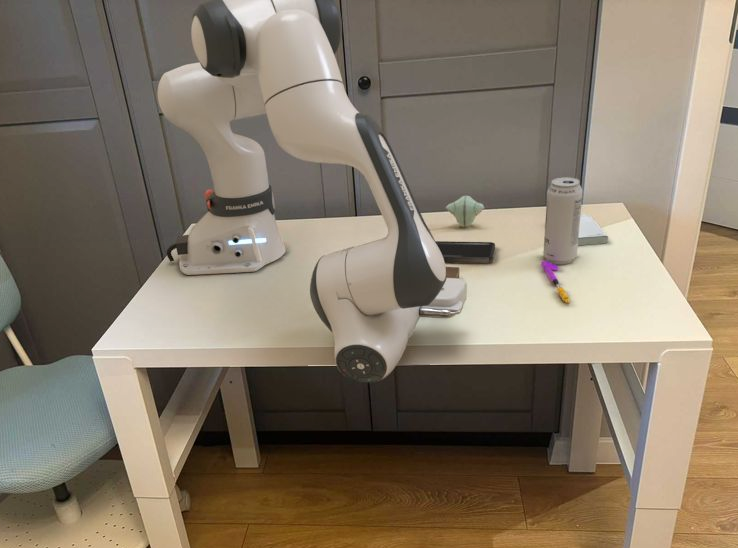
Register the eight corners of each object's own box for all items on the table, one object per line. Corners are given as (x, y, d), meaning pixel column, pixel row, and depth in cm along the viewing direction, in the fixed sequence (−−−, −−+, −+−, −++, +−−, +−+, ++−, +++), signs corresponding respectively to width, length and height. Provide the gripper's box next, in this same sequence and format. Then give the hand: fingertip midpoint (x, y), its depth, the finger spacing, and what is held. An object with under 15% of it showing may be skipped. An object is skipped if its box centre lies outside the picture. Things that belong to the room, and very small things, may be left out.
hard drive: (608, 235, 138) (589, 212, 148) (565, 238, 138) (549, 216, 149) (607, 243, 138) (588, 220, 149) (564, 246, 139) (549, 223, 150)
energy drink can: (546, 251, 138) (551, 175, 130) (578, 254, 135) (585, 176, 128) (540, 264, 133) (545, 186, 126) (573, 267, 131) (580, 187, 123)
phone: (420, 241, 145) (495, 242, 141) (420, 246, 146) (495, 247, 141) (413, 256, 139) (492, 258, 134) (413, 261, 139) (492, 263, 135)
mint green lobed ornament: (445, 230, 152) (445, 199, 149) (447, 223, 156) (447, 193, 152) (483, 230, 150) (484, 199, 147) (485, 223, 153) (485, 192, 150)
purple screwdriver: (539, 264, 132) (563, 304, 119) (541, 258, 132) (565, 298, 118) (553, 266, 132) (578, 306, 119) (555, 260, 132) (580, 300, 118)
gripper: (459, 296, 102) (474, 257, 113) (325, 287, 109) (352, 251, 120) (459, 334, 106) (474, 293, 117) (329, 323, 112) (355, 285, 123)
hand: (411, 272), depth 118 cm, fingers open, 8 cm apart
